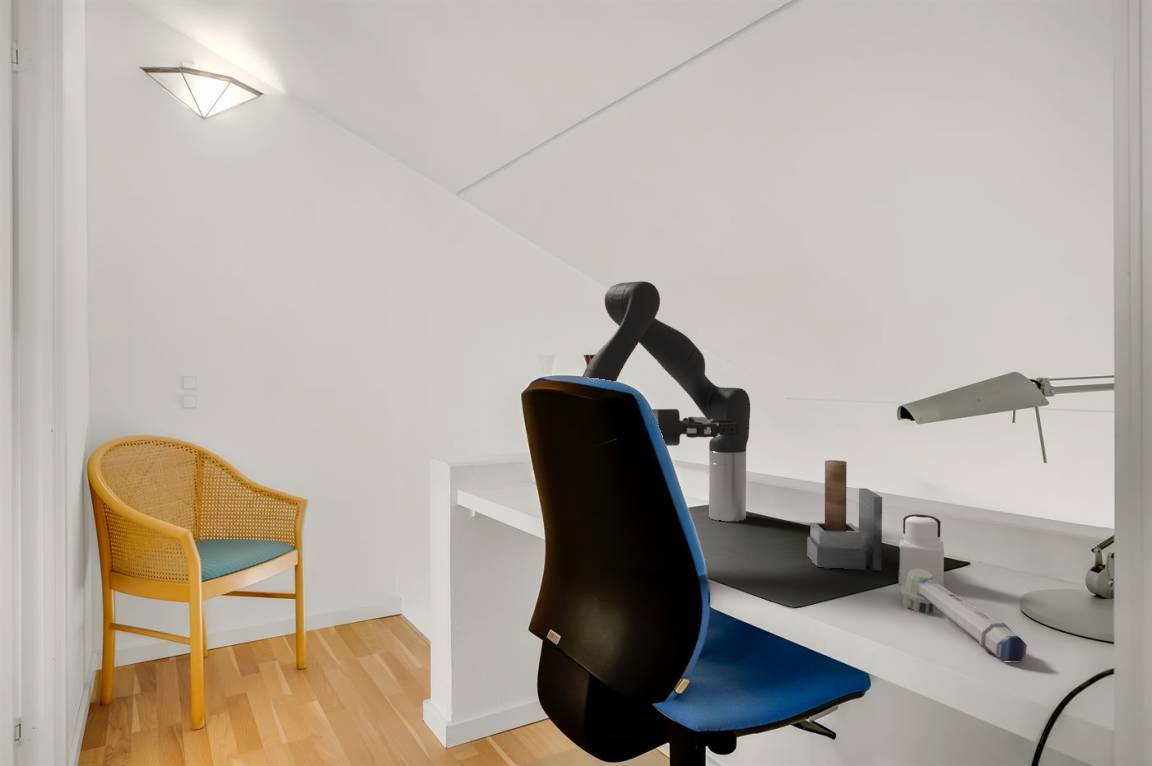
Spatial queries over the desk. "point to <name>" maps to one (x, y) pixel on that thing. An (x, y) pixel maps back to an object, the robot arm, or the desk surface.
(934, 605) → the toothbrush head
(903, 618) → the desk surface
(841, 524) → the brown wooden cylinder
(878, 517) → the cup bracket
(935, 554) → the medicine bottle
